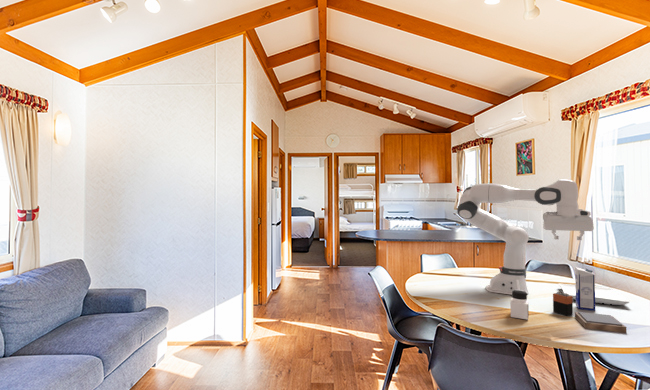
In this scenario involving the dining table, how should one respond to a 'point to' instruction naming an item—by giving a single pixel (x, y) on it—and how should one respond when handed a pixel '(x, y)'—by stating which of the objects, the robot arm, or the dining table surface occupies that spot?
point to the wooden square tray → (600, 322)
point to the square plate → (598, 294)
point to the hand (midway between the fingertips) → (567, 239)
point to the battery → (562, 304)
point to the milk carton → (585, 289)
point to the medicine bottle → (519, 304)
